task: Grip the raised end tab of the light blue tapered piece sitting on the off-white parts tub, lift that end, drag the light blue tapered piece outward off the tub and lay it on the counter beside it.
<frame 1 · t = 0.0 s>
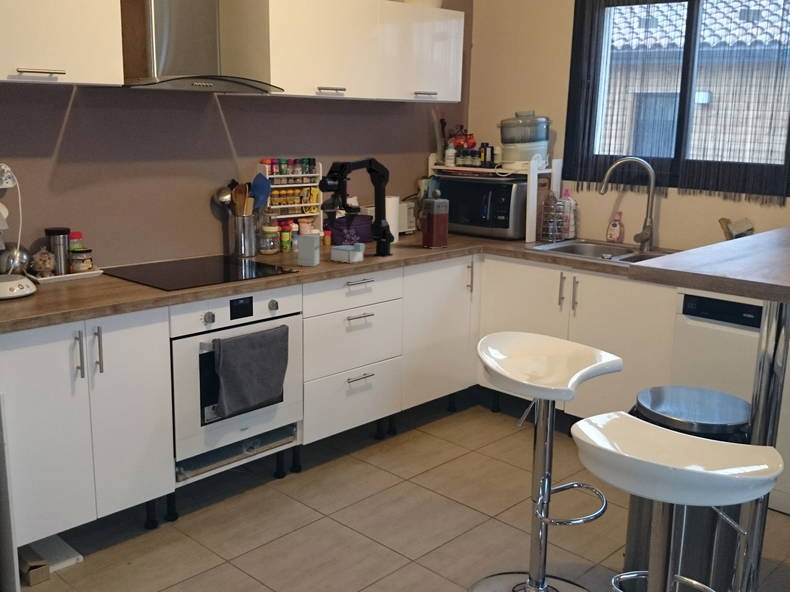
hand: (340, 228, 340), 15 cm above the table, tool pointing down, fingers open, 9 cm apart
light blue tapered piece: (346, 249, 346), point 5 cm above the table, touching tub
tub: (346, 260, 347), on the table
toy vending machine: (432, 247, 390), on the table
supplement box: (308, 265, 335), on the table
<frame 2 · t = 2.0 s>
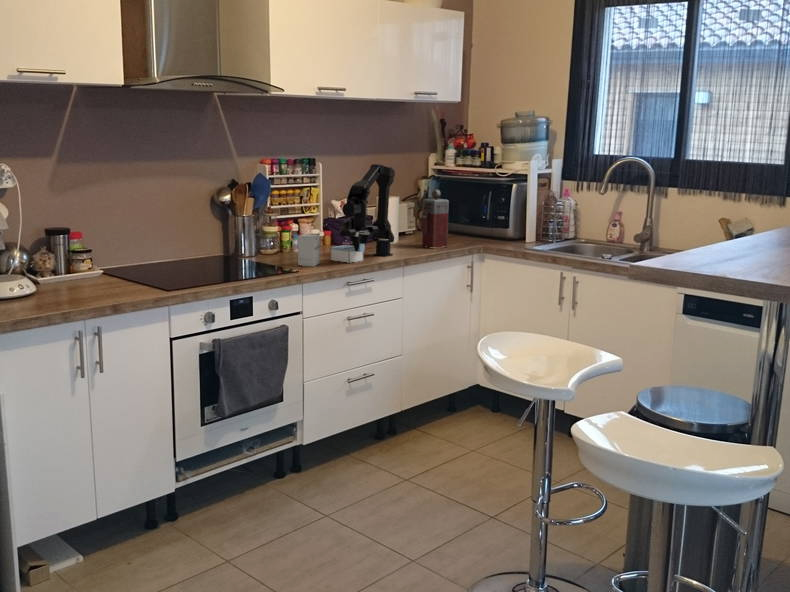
hand: (359, 251, 342), 5 cm above the table, tool pointing down, fingers closed on light blue tapered piece, 3 cm apart
light blue tapered piece: (346, 249, 346), point 5 cm above the table, touching gripper, tub
everything else where it was.
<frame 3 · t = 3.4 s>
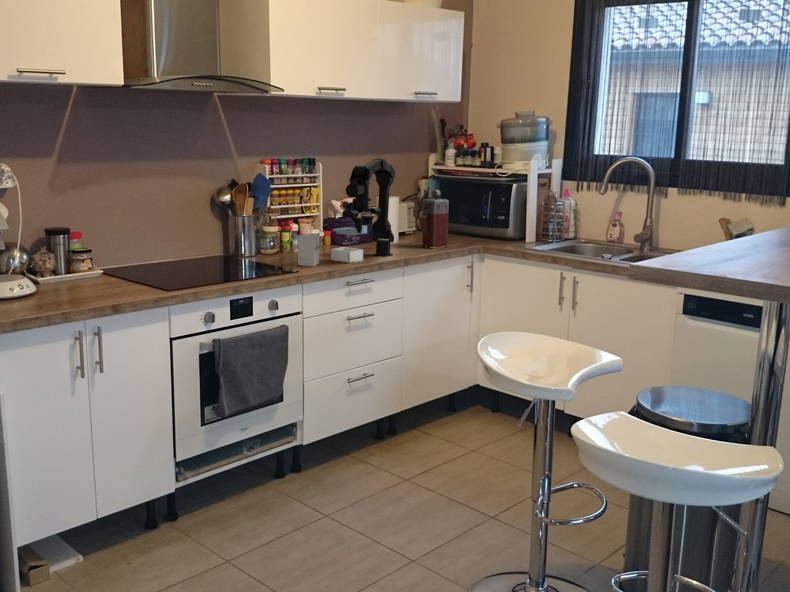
hand: (361, 232, 339), 13 cm above the table, tool pointing down, fingers closed on light blue tapered piece, 3 cm apart
light blue tapered piece: (349, 231, 344), point 13 cm above the table, touching gripper
everything else where it was.
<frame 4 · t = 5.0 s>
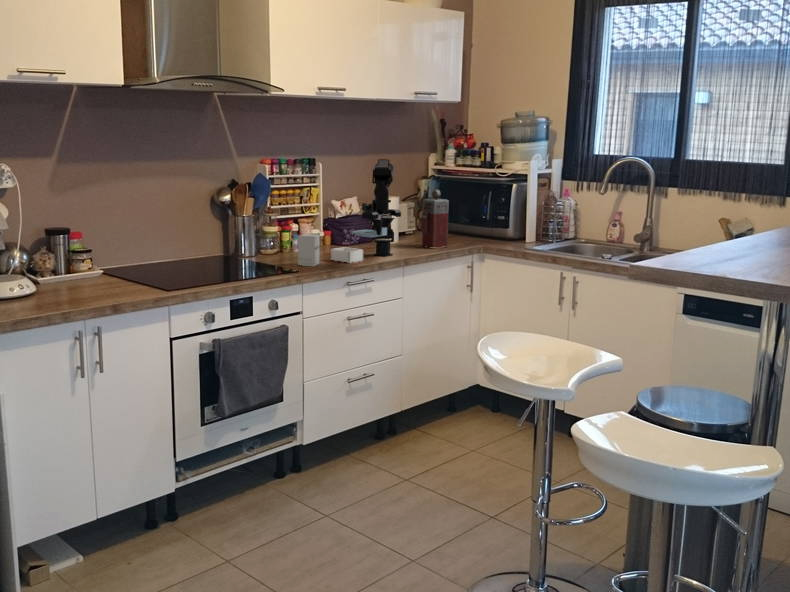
hand: (381, 235, 332), 13 cm above the table, tool pointing down, fingers closed on light blue tapered piece, 3 cm apart
light blue tapered piece: (368, 233, 337), point 13 cm above the table, touching gripper
everything else where it was.
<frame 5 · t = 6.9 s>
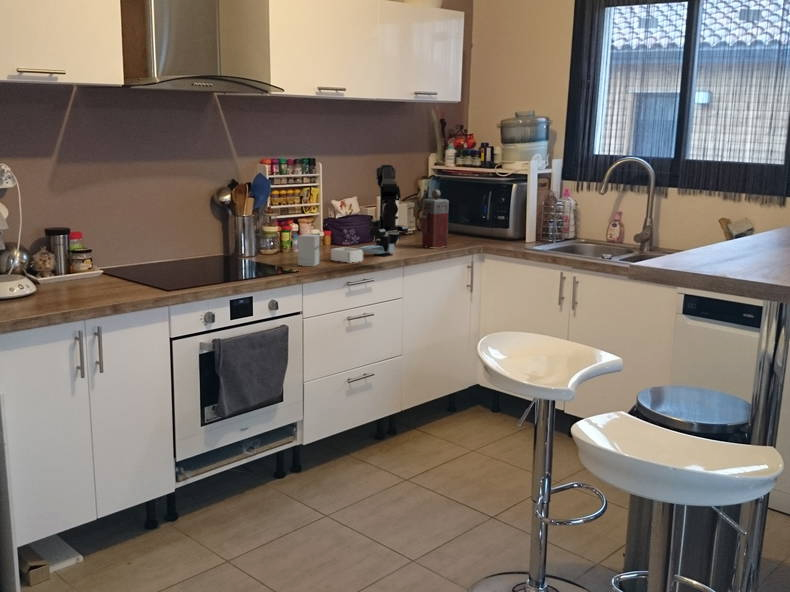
hand: (388, 251, 331), 7 cm above the table, tool pointing down, fingers closed on light blue tapered piece, 3 cm apart
light blue tapered piece: (375, 249, 336), point 7 cm above the table, touching gripper
everything else where it was.
when the fingers open (3 cm above the table, at t = 8.2 s): light blue tapered piece drops 3 cm, point 1 cm above the table.
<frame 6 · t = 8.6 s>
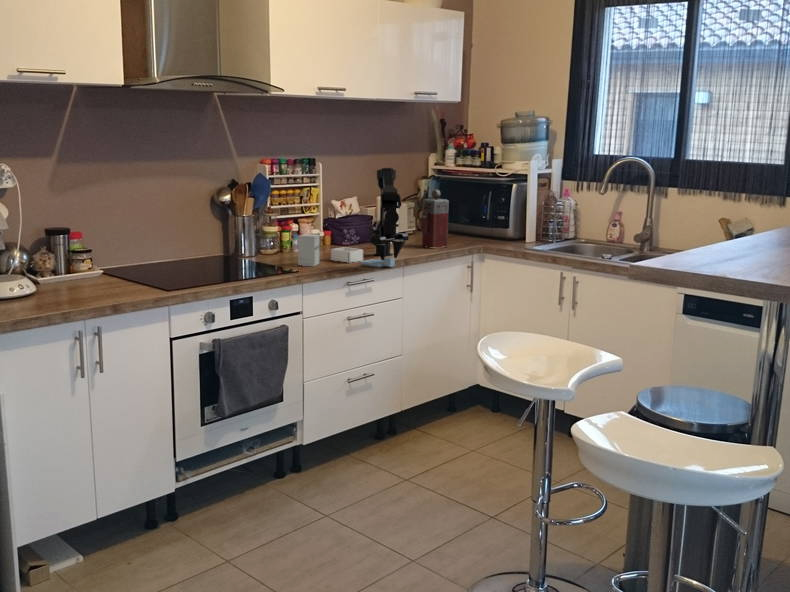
hand: (389, 259, 331), 3 cm above the table, tool pointing down, fingers open, 8 cm apart
light blue tapered piece: (376, 263, 336), point 1 cm above the table
everything else where it was.
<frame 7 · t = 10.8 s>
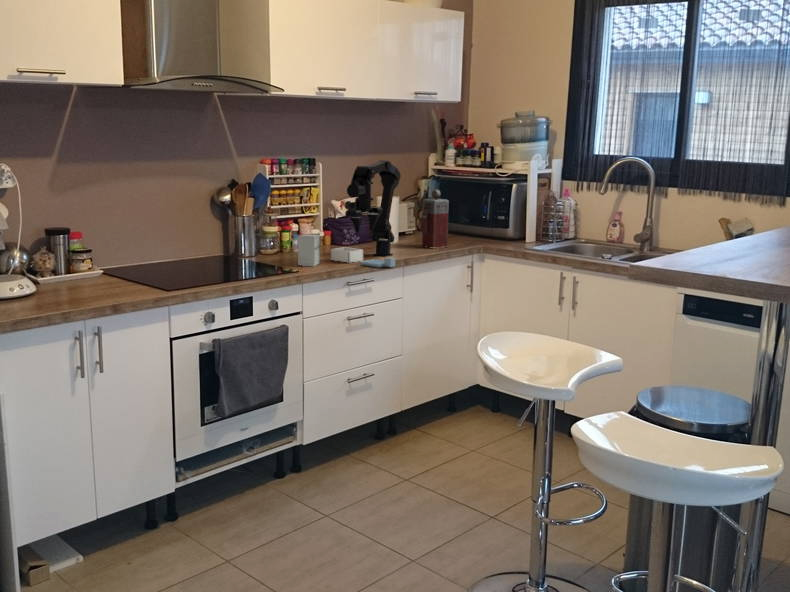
hand: (364, 231, 345), 13 cm above the table, tool pointing down, fingers open, 9 cm apart
nothing on the table moved.
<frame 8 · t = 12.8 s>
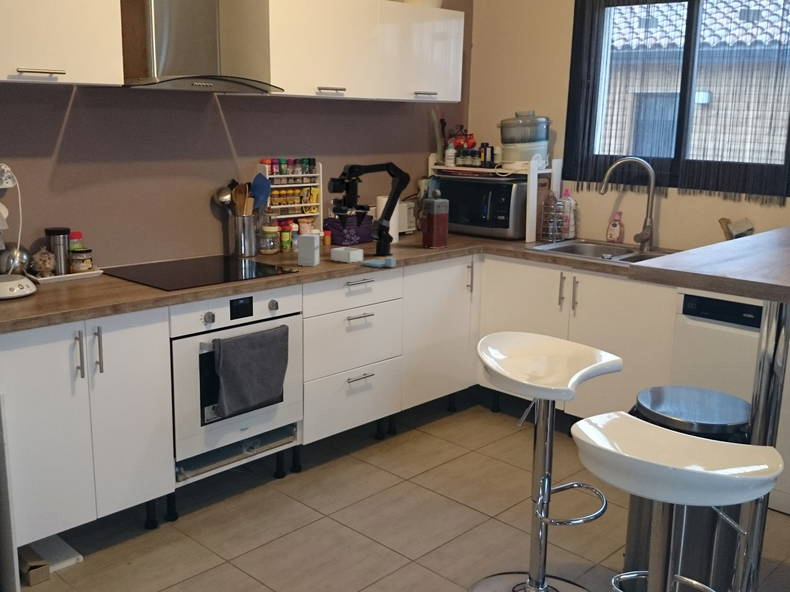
hand: (351, 228, 354), 13 cm above the table, tool pointing down, fingers open, 9 cm apart
nothing on the table moved.
at the end: light blue tapered piece point 0.7 cm above the table; light blue tapered piece inside the target area (3.6 cm from its centre), point 0.7 cm above the table; the gripper is holding nothing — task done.
